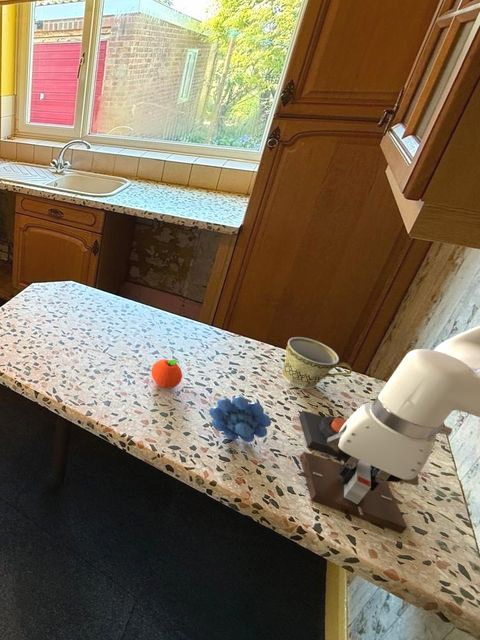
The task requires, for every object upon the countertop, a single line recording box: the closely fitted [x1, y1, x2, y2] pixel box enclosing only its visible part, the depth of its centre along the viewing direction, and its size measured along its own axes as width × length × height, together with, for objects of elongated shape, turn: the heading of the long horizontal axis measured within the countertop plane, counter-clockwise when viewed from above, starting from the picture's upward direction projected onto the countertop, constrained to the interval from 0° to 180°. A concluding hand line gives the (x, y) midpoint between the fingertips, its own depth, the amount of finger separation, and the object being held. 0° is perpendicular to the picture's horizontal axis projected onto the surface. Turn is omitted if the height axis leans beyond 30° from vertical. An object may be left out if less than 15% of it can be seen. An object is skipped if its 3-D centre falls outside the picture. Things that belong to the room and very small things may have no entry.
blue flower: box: [208, 395, 272, 443], centre depth 84 cm, size 12×7×12 cm, turn 74°
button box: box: [298, 410, 376, 469], centre depth 86 cm, size 11×9×4 cm
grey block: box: [344, 460, 371, 504], centre depth 75 cm, size 8×2×5 cm, turn 138°
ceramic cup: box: [281, 336, 353, 390], centre depth 99 cm, size 13×10×10 cm
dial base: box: [299, 451, 408, 534], centre depth 76 cm, size 13×12×2 cm
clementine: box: [151, 358, 183, 389], centre depth 100 cm, size 8×7×7 cm
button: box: [331, 417, 348, 433], centre depth 85 cm, size 4×4×2 cm
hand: (353, 482), depth 75 cm, fingers closed on grey block, 2 cm apart
